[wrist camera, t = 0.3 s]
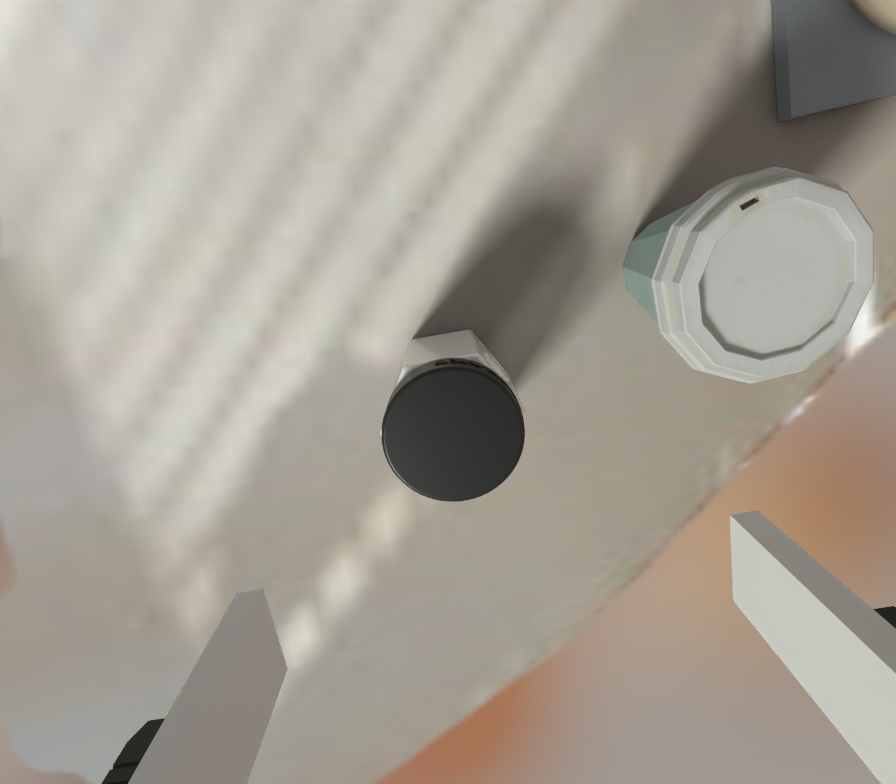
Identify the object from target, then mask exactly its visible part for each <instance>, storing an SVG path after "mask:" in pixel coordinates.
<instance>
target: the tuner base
mask: <svg viewBox="0 0 896 784" xmlns="http://www.w3.org/2000/svg"><path fill="white" fill-rule="evenodd" d="M771 9H772V26H773V43H774V60H775V77H776V94H777V111H778V122H781V121H786V120H790V119H794V118H798V117H802V116H807V115H811V114H815V113H819V112H823V111H828V110H832V109H836V108H840V107H844V106H849V105H853V104H857V103H861V102H865V101H870V100H874V99H878V98H882V97H886V96H891V95H895V94H896V35H894V34H891V33H889V32H887V31H885V30H883V29H881V28H879V27H877V26H875V25H874V24H873V23H871V22H870V21H868V20H867V19H866V18H865V17H864V16H863V15H862V14H861V13H860V12H859V11H858V10H857V9H856V8H855V7H854V6H853V5H852V3H851V2H850V1H849V0H771Z"/></svg>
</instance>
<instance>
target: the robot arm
mask: <svg viewBox="0 0 896 784" xmlns="http://www.w3.org/2000/svg"><path fill="white" fill-rule="evenodd" d="M730 525H731V555H732V584H733V601H734V602H735V603H736V604H737V606H738V607H739V608H740V609H741V611H742V612H743V613H744V614H745V616H746V617H747V618H748V619H749V620H750V621H751V623H752V624H753V626H754V627H755V628H756V629H757V630H758V632H759V633H760V634H761V635H762V637H763V638H764V639H765V640H766V642H767V643H768V644H769V645H770V647H771V648H772V649H773V650H774V652H775V653H776V654H777V655H778V656H779V658H780V659H781V660H782V661H783V663H784V664H785V665H786V666H787V668H788V669H789V670H790V671H791V672H792V674H793V675H794V676H795V678H797V680H798V681H799V682H800V684H801V685H802V686H803V687H804V689H805V690H806V691H807V692H808V693H809V695H810V696H811V697H812V699H813V700H814V701H815V702H816V703H817V705H818V706H819V707H820V708H821V710H822V711H823V712H824V713H825V715H826V716H827V717H828V718H829V720H830V721H831V722H832V723H833V724H834V726H835V727H836V728H837V730H838V731H839V732H840V733H841V735H842V736H843V737H844V738H845V739H846V741H847V742H848V743H849V744H850V746H851V747H852V748H853V749H854V750H855V752H856V753H857V754H858V756H859V757H860V758H861V759H862V760H863V762H864V763H865V764H866V765H867V766H868V768H869V769H870V770H871V772H872V773H873V774H874V775H875V777H876V778H877V779H878V780H879V782H880V783H881V784H896V607H894V606H892V607H885V608H878V609H872V608H871V607H870V606H869V605H868V604H866V603H865V602H864V601H863V600H862V599H861V598H859V597H858V596H857V595H856V594H855V593H854V592H852V591H851V590H850V589H849V588H847V586H845V585H844V584H843V583H842V582H841V581H840V580H838V579H837V578H836V577H835V576H834V575H832V574H831V573H830V572H829V571H828V570H827V569H826V568H824V567H823V566H822V565H821V564H820V563H818V562H817V561H816V560H815V559H814V558H813V557H812V556H810V555H809V554H808V553H807V552H806V551H805V550H803V549H802V548H801V547H800V546H799V545H798V544H796V543H795V542H794V541H793V540H792V539H791V538H789V537H788V536H787V535H786V534H785V533H784V532H783V531H781V530H780V529H779V528H778V527H777V526H775V525H774V524H773V523H772V522H771V521H770V520H769V519H767V518H766V517H765V516H764V515H763V514H762V513H760V512H759V511H752V512H746V513H740V514H734V515H730ZM286 671H287V666H286V662H285V659H284V656H283V653H282V649H281V646H280V643H279V639H278V636H277V633H276V630H275V626H274V623H273V620H272V616H271V613H270V610H269V607H268V603H267V600H266V597H265V594H264V590H263V589H261V590H255V591H248V592H242V593H237V594H236V596H235V597H234V599H233V601H232V603H231V604H230V606H229V608H228V610H227V611H226V613H225V615H224V616H223V618H222V620H221V622H220V623H219V625H218V627H217V629H216V630H215V632H214V634H213V636H212V637H211V639H210V641H209V643H208V644H207V646H206V648H205V650H204V651H203V653H202V655H201V657H200V658H199V660H198V662H197V664H196V665H195V667H194V669H193V671H192V672H191V674H190V676H189V678H188V679H187V681H186V683H185V685H184V686H183V688H182V690H181V692H180V693H179V695H178V697H177V699H176V700H175V702H174V704H173V706H172V707H171V709H170V711H169V713H168V714H167V716H166V718H164V719H157V720H151V721H148V722H147V723H146V724H145V725H144V726H143V727H142V728H141V729H140V730H139V731H138V732H137V733H136V734H135V735H134V736H133V737H132V738H131V739H130V740H129V741H128V742H127V744H126V745H125V747H124V748H123V750H122V752H121V753H120V755H119V756H118V758H117V760H116V761H115V763H114V764H113V769H112V770H110V771H109V773H108V774H107V776H106V777H105V779H104V781H103V782H102V784H247V781H248V778H249V776H250V773H251V770H252V767H253V764H254V761H255V759H256V756H257V753H258V750H259V747H260V745H261V742H262V739H263V736H264V733H265V730H266V728H267V725H268V722H269V719H270V716H271V714H272V711H273V708H274V705H275V702H276V699H277V697H278V694H279V691H280V688H281V685H282V683H283V680H284V677H285V674H286Z"/></svg>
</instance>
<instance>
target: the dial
mask: <svg viewBox="0 0 896 784" xmlns="http://www.w3.org/2000/svg"><path fill="white" fill-rule="evenodd" d="M849 1H850V2H851V3H852V5H853V6H854V7H855V8H856V9H857V10H858V11H859V12H860V13H861V14H862V15H863V16H864V17H865V18H866V19H867V20H868V21H870V22H871V23H873V24H874V25H875V26H877V27H879V28H881V29H883V30H885V31H887V32H889V33H891V34H894V35H896V0H849Z"/></svg>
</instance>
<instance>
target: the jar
mask: <svg viewBox="0 0 896 784" xmlns="http://www.w3.org/2000/svg"><path fill="white" fill-rule="evenodd" d="M524 412H525V407H524V405H523V403H522V401H521V399H520V397H519V395H518V393H517V391H516V389H515V387H514V385H513V383H512V381H511V379H510V377H509V375H508V373H507V372H506V371H505V369H504V368H503V367H502V366H501V365H500V363H499V362H498V361H497V360H496V359H495V357H494V356H493V355H492V354H491V353H490V351H489V350H488V349H487V348H486V347H485V345H484V344H483V343H482V342H481V341H480V340H479V338H478V337H477V336H476V335H475V334H474V332H473V331H472V330H470V329H468V330H462V331H457V332H451V333H445V334H440V335H434V336H429V337H423V338H417V339H412V340H411V341H410V344H409V347H408V350H407V353H406V355H405V358H404V361H403V364H402V367H401V370H400V373H399V376H398V378H397V381H396V384H395V387H394V390H393V393H392V395H391V397H390V399H389V402H388V405H387V408H386V412H385V415H384V418H383V423H382V428H381V431H380V435H381V436H382V445H383V450H384V453H385V456H386V459H387V461H388V463H389V465H390V467H391V469H392V470H393V472H394V473H395V474H396V476H397V477H398V478H399V479H400V480H401V481H402V482H403V483H404V484H405V485H407V486H408V487H409V488H411V489H412V490H414V491H415V492H417V493H419V494H421V495H423V496H426V497H429V498H432V499H436V500H440V501H464V500H470V499H474V498H477V497H480V496H482V495H484V494H486V493H488V492H490V491H492V490H493V489H495V488H496V487H498V486H499V485H500V484H501V483H502V482H504V480H505V479H506V478H507V477H508V476H509V475H510V474H511V473H512V471H513V470H514V468H515V467H516V465H517V463H518V461H519V458H520V456H521V453H522V450H523V445H524V437H525V429H524V421H523V414H524Z"/></svg>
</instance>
